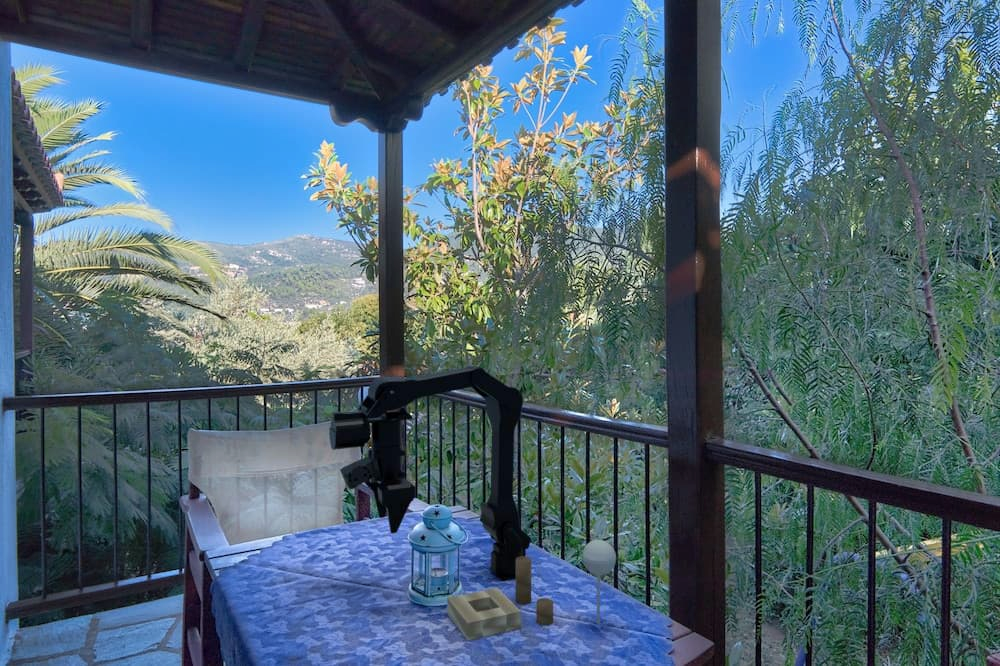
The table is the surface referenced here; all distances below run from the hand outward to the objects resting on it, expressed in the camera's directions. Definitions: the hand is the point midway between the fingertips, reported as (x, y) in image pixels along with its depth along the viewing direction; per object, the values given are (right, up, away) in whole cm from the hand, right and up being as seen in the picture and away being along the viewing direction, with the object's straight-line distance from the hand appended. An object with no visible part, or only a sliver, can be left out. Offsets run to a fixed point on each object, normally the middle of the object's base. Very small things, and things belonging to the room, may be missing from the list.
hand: (387, 524), depth 117 cm
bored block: (+19, -15, -8) cm, 25 cm away
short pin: (+29, -15, -8) cm, 34 cm away
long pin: (+26, -14, 0) cm, 30 cm away
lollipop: (+39, -15, -9) cm, 43 cm away
